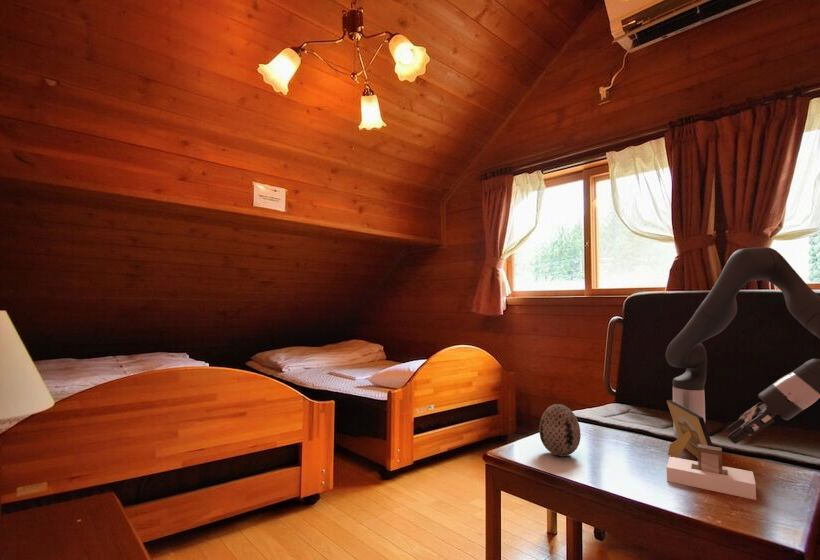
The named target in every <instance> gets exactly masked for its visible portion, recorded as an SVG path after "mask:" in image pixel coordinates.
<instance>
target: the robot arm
mask: <svg viewBox="0 0 820 560" xmlns="http://www.w3.org/2000/svg"><path fill="white" fill-rule="evenodd" d="M756 281H768V282H769V283H771V284H772V285H774V286H776V287H777V288H778V290H780V291H781V293H782V294H783V298H784V301H785V305H786V308H787V310H788V311H789V313H790V314H791V315H792V316H793V318H794V319H796V320H797V321H798V322H799V323H800V324H801V325H802V327H804V328H805V329H807V330H808V331H809V333H811V334H813V336H816V337H817V338H818V339H819V340H820V296H819V294H817V293H816V292H815V291H814V289H812V288H811V287H810V286H809V285H808V284H807V283H806V282H805V281H804V279H803V278H802V277H801V276H800V275H799V274H798V272H797V271H796V270H795V268H793V267H792V265H791V264H790V263H789V262H788V260H787V259H786V258H785V257H784V256H783V255H782V254H781V253H780V252H779V251H778V250H776V249H774V248H772V247H766V246H764V247H763V246H760V247H757V246H756V247H744V248H741V249H740V248H739V249H737V250H735V251H734V252H733V253H732V254H731V255H730V256H729V258H728V259H727V261H726V263H725V265H724V267H723V269H722V271H721V272H720V273H719V277H718V278H717V280H716V282H715V283H714V284H713V286H712V287H711V290H710V291H709V292H708V294H707V295H706V296H705V298H704V300H703V301H702V302H701V303H700V305H699V306H698V307H697V309H696V310H695V312H694V314H693V315H692V316H691V318H690V319H689V321H687V323H686V325H685V326H684V327H683V328H682V329H681V330H680V332H679V333H678V334H677V335H676V336H675V337H673V339H672V340H671V341H670V343H669V344H668V345H667V348H666V351H665V359H666V363H668V365H669V366H670V367H674V368H677V369H679V368H680V369H686V370H685V372H683V373H682V374H680V375H678V376H676V377H674V378H673V379H672V401H673V402H675V403H677V404H679V405H681V406H682V407H684V408H686V409H688V410H690V411H692V412H693V413H695V414H697V415H699V416H701V417H703V419H704V422H705V423H706V400H705V399H706V398H705V384H706V381H707V367H708V366H707V365H708V364H707V363H708V359H707V358H708V356H707V350H706V348H705V345H704V344H703V342H705V341H706V340H707V341H708V340H709V339H710V338H713V337H715V336H717V335H718V334H720V333H722V332H723V331H724V330H725V329H727V327H729V325H730V324H731V322H732V321H733V320H734V319H735V317H736V315H737V313H738V303H737V295H738V294H739V292H740V291H741V289H743V288H744V286H745V285H746V284H747V283H749V282H756ZM757 396H758V398H759V399H760V400H761V401H762V402H761V401H760V402H757V403H756V404H755V405H753V406H752V407H751V408H749V409H748V410H746V411H745V412H744V413H741V414H740V416H739V418H738V419H737V420H736V421H735V422H733V423H732V424H730V425H728V426H727V431H728V432H729V434H727V438H728V440H730V441H731V442H732V443H733V444H735V445H736V444H738V443H739V442H741V441H742V440H744V439H745V438H747V437H748V436H752V437H754V436H756V435H757V434H758V433H760V432H761V431H762V430H764V429H766V427H768V426H770V425H771V424H773V423H774V422H775V420H776V419H774V417H776V415H777V416H779V417H780V418H781V419H783V420H785V421H788V420H791V419H792V418H794V417H795V416H798V414H800V413H801V412H803V411H804V410H805V409H807V408H809V407H810V406H812V405H813V404H814V403H816V402H817V401H818V400H819V399H820V359H819V358H812V359H809V360H807V361H805V362H804V363H802V364H801V365H799V366H798V367H797V368H795V369H793V370H792V371H791V372H789V373H787V374H785V375H783V376H781V377H780V378H779V379H777V380H776V381H775V382H773V383H772V384H770V385H769V386H767V388H764V389H763V390H762V391H760V392H759V393H758V394H757ZM672 425H673V428H672V429H673V437H674V439H676V440H677V439H678V438H679V437H678V434H677V431H676V428H675V425H674V422H672Z"/></svg>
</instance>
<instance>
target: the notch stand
mask: <svg viewBox="0 0 820 560" xmlns="http://www.w3.org/2000/svg"><path fill="white" fill-rule="evenodd" d="M666 482H670V483H674V484H679V485H684V486H687V487H688V486H689V487H692V488H697V489H702V490H707V491H711V492H712V491H713V492H717V493H722V494H726V495H731V496H736V497H741V498H746V499H750V500H754V501H756V500H757V485H756V480H755V475H754V472H753V471H751V470H745V469H740V468H736V467H735V468H734V467H730V466H723V465H722V474H717V473H712V472H707V471H701V470H698V460H697V461H696V460H690V459H684V458H680V457H678V458H675V457H671V456H669V459H668V461H667V464H666Z"/></svg>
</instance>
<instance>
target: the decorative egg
mask: <svg viewBox="0 0 820 560" xmlns="http://www.w3.org/2000/svg"><path fill="white" fill-rule="evenodd" d="M540 417H541V418H540V421H539V428H538V429H539V431H538V432H539V438H540V441H541V443H542V446H544V447H545V449H546V450H547V451H548V452H549V453H551V454H553V455H554V456H559V457H566V456H569V455H571V454H573V453H574V452H575V451H576V450H577V449H578V447H579V446H580V443H581V442H580V441H581V438H582V437H581V435H582V433H581V427H580V423H579V421H578V418H577V416H576V414H575V413H574V411H572V410H571V408H569V407H567V406H566V405H564V404H562V403H561V404H560V403H555V404H552V405H549V406H548V407H547V408H546V409H545V411H544V412H543V414H542V415H541V416H540Z"/></svg>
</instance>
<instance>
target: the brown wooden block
mask: <svg viewBox="0 0 820 560" xmlns="http://www.w3.org/2000/svg"><path fill="white" fill-rule="evenodd" d="M697 462H698V470H701V471H707V472H712V473H717V474H722V466H723V449H722V447H717V446H714V445H713V446H707V445H701V444H698V458H697Z"/></svg>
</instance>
